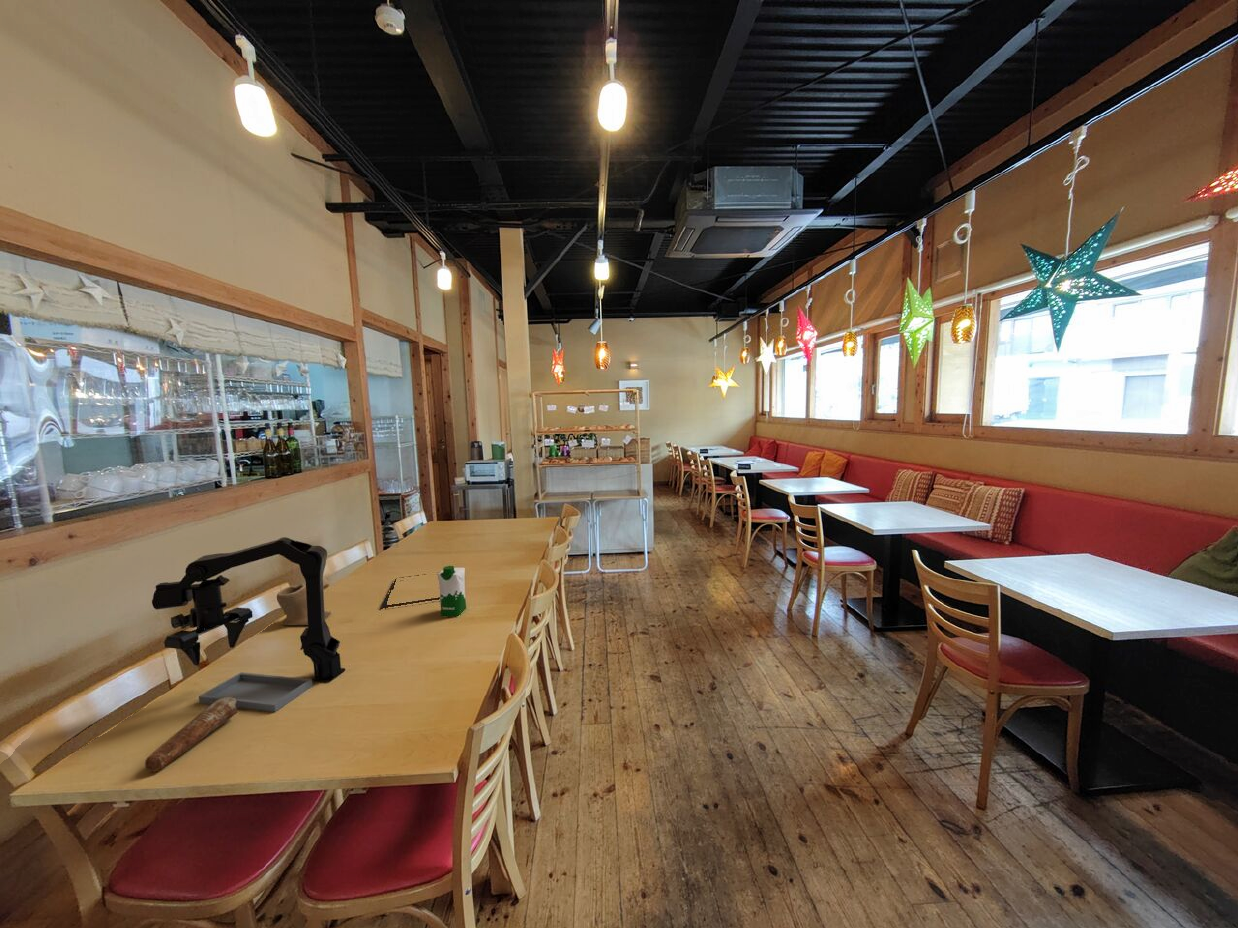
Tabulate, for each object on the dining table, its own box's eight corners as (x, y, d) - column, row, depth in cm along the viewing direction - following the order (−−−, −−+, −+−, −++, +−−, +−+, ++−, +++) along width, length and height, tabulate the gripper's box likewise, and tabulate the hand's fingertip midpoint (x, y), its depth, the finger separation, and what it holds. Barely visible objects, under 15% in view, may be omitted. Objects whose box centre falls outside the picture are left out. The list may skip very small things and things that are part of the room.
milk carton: (438, 619, 172) (434, 569, 170) (449, 609, 181) (446, 561, 179) (459, 620, 171) (456, 569, 169) (469, 609, 180) (466, 561, 178)
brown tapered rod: (240, 716, 117) (241, 697, 116) (158, 777, 98) (159, 756, 97) (218, 710, 118) (219, 691, 117) (133, 770, 99) (133, 749, 98)
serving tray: (312, 687, 130) (311, 679, 130) (275, 713, 119) (274, 704, 119) (242, 679, 135) (241, 672, 134) (199, 704, 123) (198, 696, 123)
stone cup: (271, 629, 167) (267, 591, 165) (298, 615, 179) (294, 579, 177) (307, 631, 165) (303, 592, 163) (332, 617, 177) (329, 580, 175)
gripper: (220, 587, 133) (226, 637, 135) (143, 615, 115) (151, 672, 116) (251, 589, 131) (257, 639, 133) (178, 618, 113) (186, 676, 114)
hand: (215, 655), depth 124 cm, fingers open, 9 cm apart
